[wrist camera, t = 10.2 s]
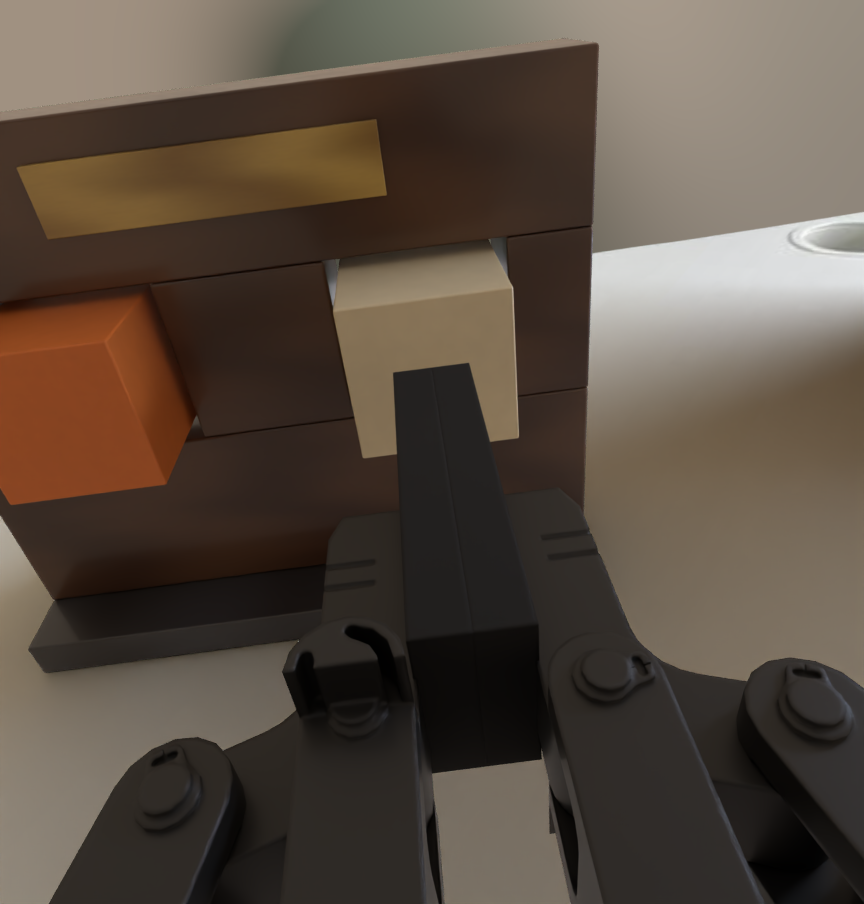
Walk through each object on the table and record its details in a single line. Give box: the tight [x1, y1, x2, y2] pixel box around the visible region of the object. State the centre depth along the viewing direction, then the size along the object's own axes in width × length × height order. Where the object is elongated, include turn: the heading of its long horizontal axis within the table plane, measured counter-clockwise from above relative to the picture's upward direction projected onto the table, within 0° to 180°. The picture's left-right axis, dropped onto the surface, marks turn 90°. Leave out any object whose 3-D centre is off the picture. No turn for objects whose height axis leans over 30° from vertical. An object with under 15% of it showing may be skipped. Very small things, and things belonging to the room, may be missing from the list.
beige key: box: [333, 239, 519, 458], centre depth 17 cm, size 4×4×4 cm
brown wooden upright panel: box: [0, 38, 599, 673], centre depth 20 cm, size 18×7×15 cm, turn 94°
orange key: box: [0, 284, 197, 505], centre depth 17 cm, size 4×4×4 cm
